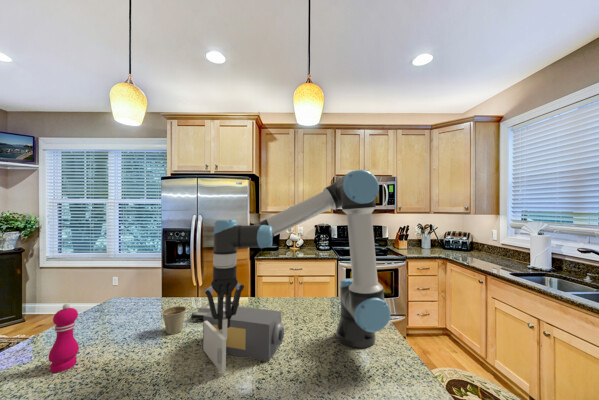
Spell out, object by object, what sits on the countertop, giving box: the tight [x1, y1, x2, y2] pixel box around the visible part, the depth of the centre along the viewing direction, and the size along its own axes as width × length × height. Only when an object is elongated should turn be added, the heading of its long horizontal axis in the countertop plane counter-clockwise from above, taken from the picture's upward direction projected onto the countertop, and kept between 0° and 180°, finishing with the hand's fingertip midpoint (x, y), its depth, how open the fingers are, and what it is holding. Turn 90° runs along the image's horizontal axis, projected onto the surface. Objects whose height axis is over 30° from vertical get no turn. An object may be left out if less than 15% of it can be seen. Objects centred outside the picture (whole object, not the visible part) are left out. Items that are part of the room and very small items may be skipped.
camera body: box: [202, 305, 285, 362], centre depth 93 cm, size 28×12×13 cm, turn 74°
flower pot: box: [161, 305, 188, 335], centre depth 106 cm, size 9×9×9 cm
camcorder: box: [190, 300, 240, 320], centre depth 123 cm, size 16×20×5 cm
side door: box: [202, 321, 227, 374], centre depth 83 cm, size 17×2×10 cm, turn 39°
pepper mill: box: [47, 303, 80, 374], centre depth 82 cm, size 7×7×20 cm
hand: (223, 338), depth 82 cm, fingers closed
